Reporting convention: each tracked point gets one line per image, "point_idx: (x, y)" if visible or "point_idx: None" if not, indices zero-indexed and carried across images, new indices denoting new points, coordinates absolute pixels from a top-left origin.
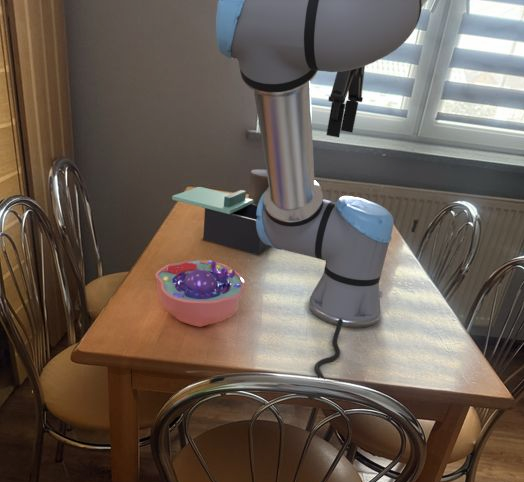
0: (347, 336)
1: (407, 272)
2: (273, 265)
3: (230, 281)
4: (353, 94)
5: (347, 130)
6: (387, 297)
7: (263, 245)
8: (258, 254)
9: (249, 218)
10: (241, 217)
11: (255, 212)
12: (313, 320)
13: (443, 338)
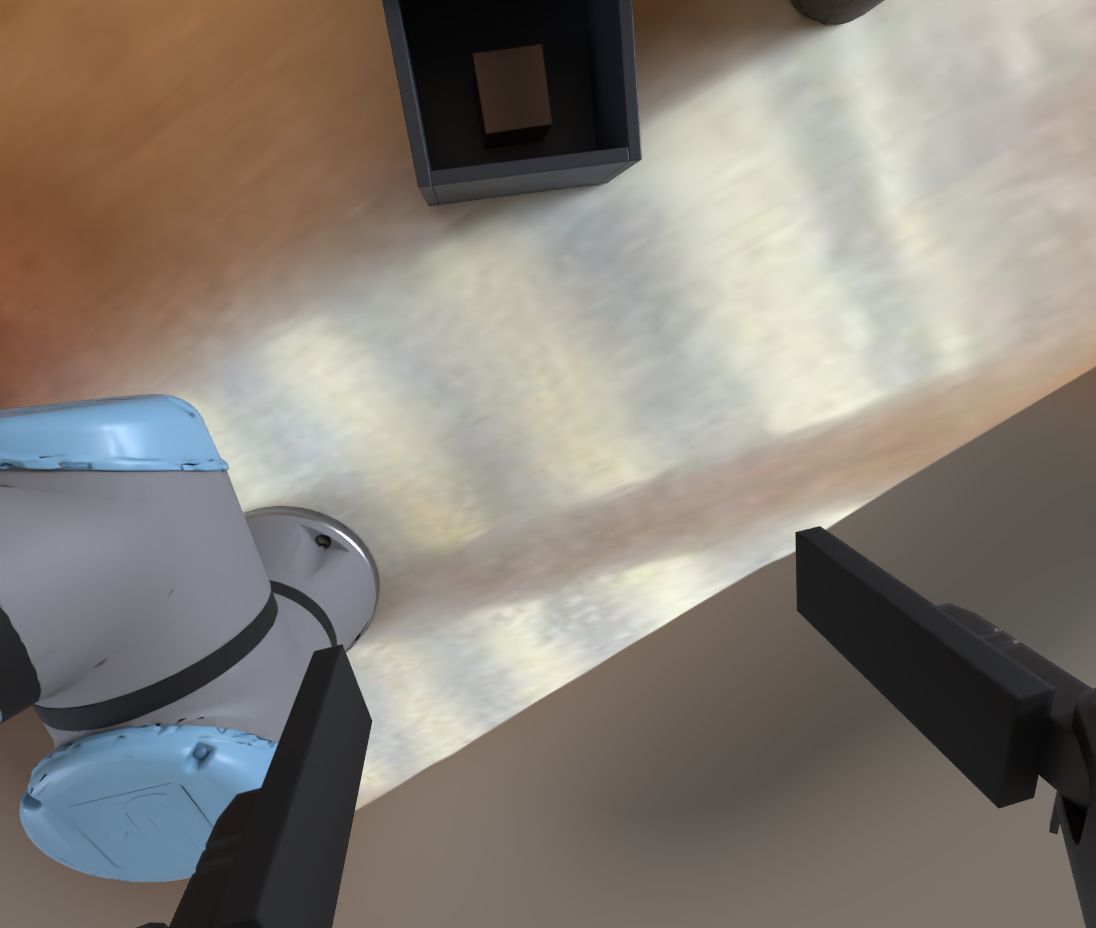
0: None
1: (665, 586)
2: (394, 297)
3: None
4: (1087, 836)
5: (801, 584)
6: (463, 615)
7: (467, 197)
8: (430, 205)
9: (410, 112)
10: (396, 70)
11: (609, 25)
12: None
13: (365, 756)
